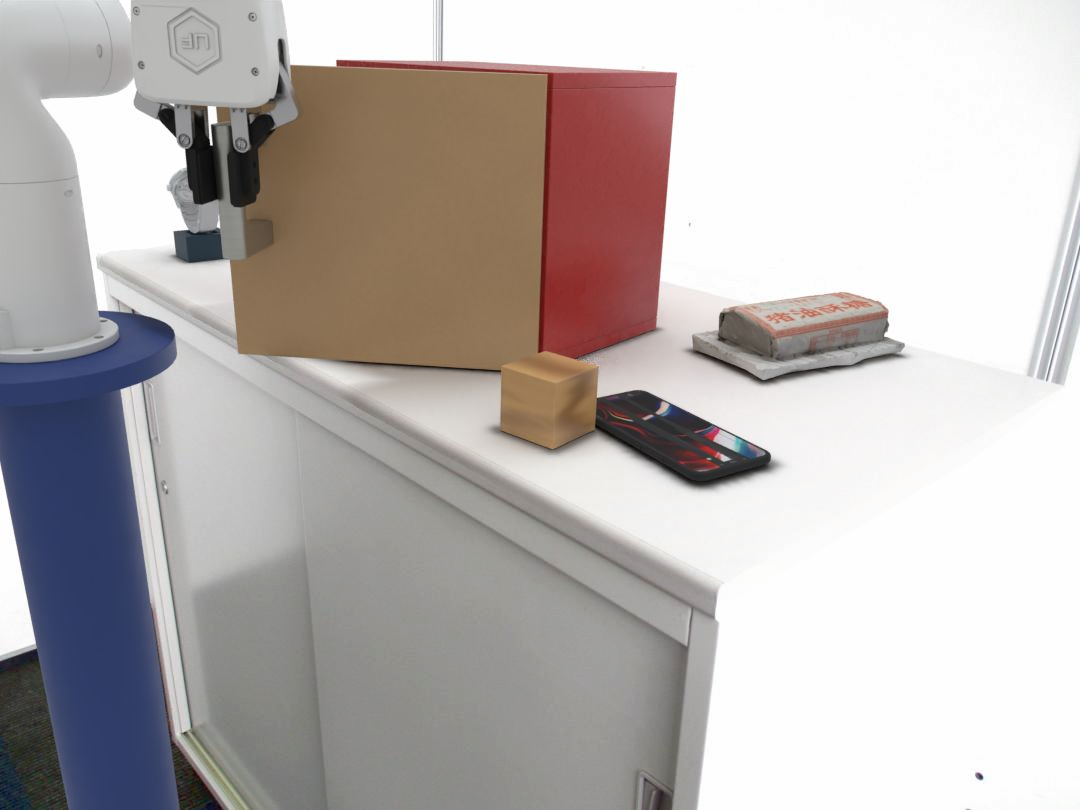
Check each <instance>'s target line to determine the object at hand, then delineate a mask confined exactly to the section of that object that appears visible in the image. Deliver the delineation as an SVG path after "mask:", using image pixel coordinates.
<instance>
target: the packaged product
mask: <svg viewBox="0 0 1080 810" xmlns="http://www.w3.org/2000/svg"><path fill="white" fill-rule="evenodd" d="M889 327H890V323H889V309H888V307H886V305H884V304H883V302H881V301H879V300H875V299H872V298H869V297H865V296H862V295H860V294H859V295H858V294H854V293H850V292H846V291H839V292H832V293H831V292H830V293H824V294H815V295H806V296H799V297H793V298H785V299H778V300H771V301H764V302H763V301H761V302H756V303H749V304H741V305H734V306H729V307H727V308H724V309H722V311H721V312H719V315H718V329H715V330H711V331H709V330H707V331H704V332H695V333H692V334H691V339H692V350H695V351H698V352H699V353H702V354H704V355H705V354H706V355H708V356H710V357H713V358H716V359H718V360H721V361H723V362H726V363H728V364H731V365H734V366H736V367H738V368H741V369H743V370H745V371H747V372H749V373H750V374H752V375H754V376H755V377H757V378H759V379H760V380H762V381H766V380H768V379H773V378H775V377H779V376H783V375H787V374H789V373H795V372H800V371H808V370H813V369H820V368H826V367H833V366H852V365H855V364H856V363H859V362H861V361H863V360H865V359H871V358H872V359H873V358H876V357H880V356H881V357H882V356H886V355H891V354H896V353H901V352H902V351H903V350H904V349H905V347H906V345H905V342H901V341H899V340H896V339H894V338H891V337H889V336H885V335H886V333H888V332H889Z"/></svg>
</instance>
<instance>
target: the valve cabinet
mask: <svg viewBox="0 0 1080 810" xmlns="http://www.w3.org/2000/svg"><path fill="white" fill-rule="evenodd" d="M335 63H336V64H335V66H338V67H364V68H390V69H417V70H443V71H469V72H496V73H522V74H547V75H548V78H547V107H546V137H545V166H544V195H543V225H542V254H541V284H540V313H539V343H538V353H541V352H544V351H548V352H551V353H554V354H558V355H561V356H565V357H568V358H572V359H577V358H581V357H582V356H585V355H587V354H591V353H593V352H596V351H599V350H601V349H604V348H608V347H610V346H613V345H616V344H619V343H621V342H624V341H626V340H629V339H631V338H635V337H637V336H640V335H643V334H645V333H648V332H651V331H654V330H656V329H657V322H658V321H657V320H658V310H659V299H660V298H659V296H660V284H661V272H662V261H663V260H662V259H663V247H664V236H665V224H666V211H667V199H668V188H669V187H668V185H669V174H670V163H671V162H670V161H671V151H672V150H671V149H672V137H673V128H674V127H673V124H674V114H675V102H676V89H677V80H678V72H673V71H655V70H654V71H653V70H638V69H637V70H636V69H619V68H617V69H616V68H599V67H582V66H581V67H580V66H565V65H564V66H561V65H543V64H525V63H524V64H523V63H508V62H488V61H467V60H465V61H464V60H462V61H461V60H394V59H393V60H392V59H391V60H390V59H389V60H387V59H385V60H383V59H382V60H381V59H336V60H335Z"/></svg>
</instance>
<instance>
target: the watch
mask: <svg viewBox="0 0 1080 810" xmlns="http://www.w3.org/2000/svg"><path fill="white" fill-rule="evenodd" d="M166 190H167V192H170V194H171V195H172V197H173V200H174V203H175V205H176V208H177V209H179V211H180V214H181V217H182V219H183V223H184V224H185V227H186V228H187V229H181V230H173V241H174V248H175V250H174V251H175V257H177V258H179V259H181V260H183V261H185V262H187V263H196V262H203V261H212V260H213V261H214V260H221V259H224V258H223V253H222V242H221V231H220V227H218V223H219V222H220V220H219V209H218V199H217V200H215V201H212V202H209V203H206V204H203V205H198V204H194V202H193V192H192V191H191V190H190V189H189V186H188V177H187V167H182V168H180V169H179V170H178V171H176V172H175V173H174V174H173V175H172V176H171V177H170V179H169V181H168V184H166Z"/></svg>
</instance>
